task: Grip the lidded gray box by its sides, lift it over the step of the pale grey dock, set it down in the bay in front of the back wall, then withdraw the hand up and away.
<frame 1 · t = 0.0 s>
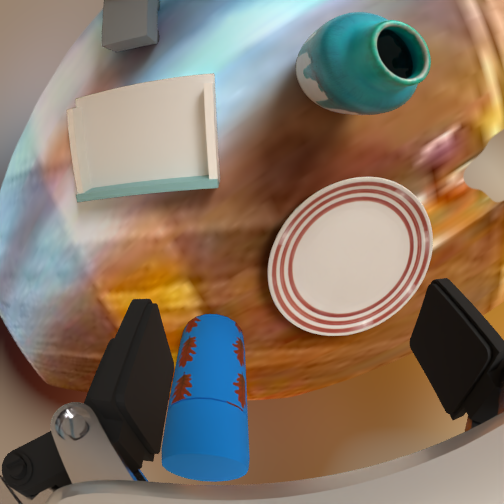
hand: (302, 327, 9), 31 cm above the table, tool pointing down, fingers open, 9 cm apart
vase: (328, 75, 32), on the table
dinner plate: (352, 258, 45), on the table
lidded gray box: (141, 24, 27), on the table
loading dock: (145, 134, 35), on the table
thermos: (213, 336, 50), on the table
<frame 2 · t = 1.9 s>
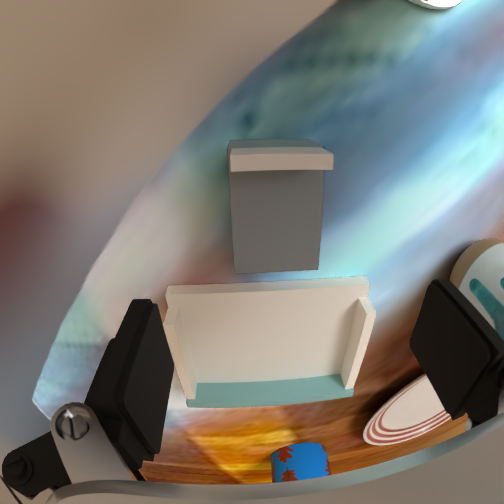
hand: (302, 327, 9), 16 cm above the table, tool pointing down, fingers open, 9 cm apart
vase: (467, 265, 28), on the table
dinner plate: (428, 393, 41), on the table
lidded gray box: (268, 185, 23), on the table
loading dock: (268, 336, 31), on the table
thermos: (298, 452, 47), on the table
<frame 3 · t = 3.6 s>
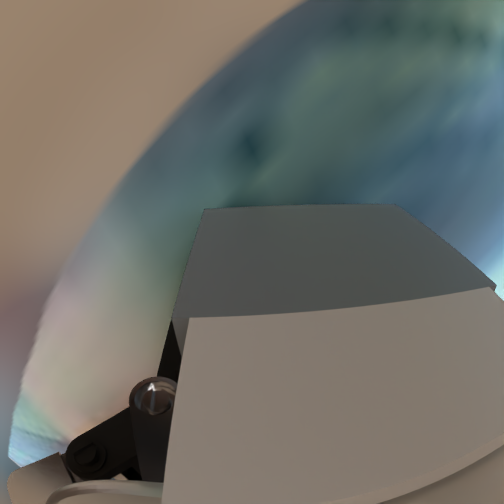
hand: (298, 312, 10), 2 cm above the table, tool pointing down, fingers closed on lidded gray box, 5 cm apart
lidded gray box: (291, 288, 11), on the table, touching gripper
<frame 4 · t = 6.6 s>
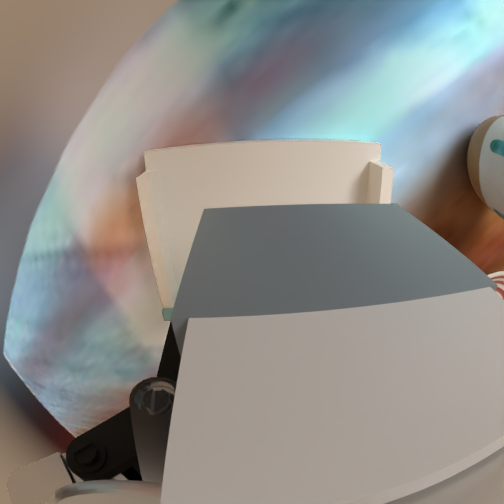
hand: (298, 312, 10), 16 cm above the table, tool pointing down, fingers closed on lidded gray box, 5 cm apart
vase: (482, 155, 23), on the table
lidded gray box: (291, 288, 11), point 15 cm above the table, touching gripper
loading dock: (266, 220, 26), on the table
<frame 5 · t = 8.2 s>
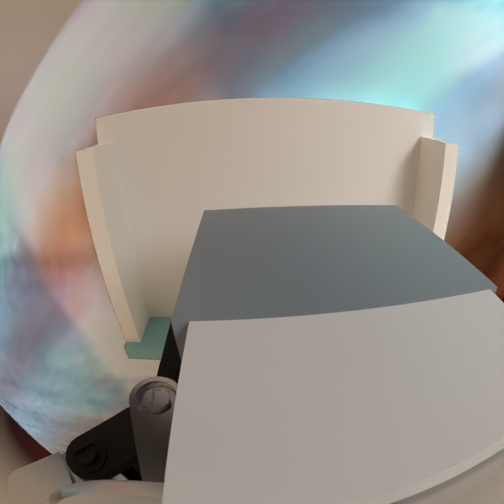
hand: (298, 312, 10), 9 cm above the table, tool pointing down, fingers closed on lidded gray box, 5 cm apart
lidded gray box: (291, 289, 11), point 7 cm above the table, touching gripper
loading dock: (274, 217, 18), on the table
when the fingers open (4 cm above the table, at t = 9.4 s): lidded gray box drops 1 cm, resting on loading dock.
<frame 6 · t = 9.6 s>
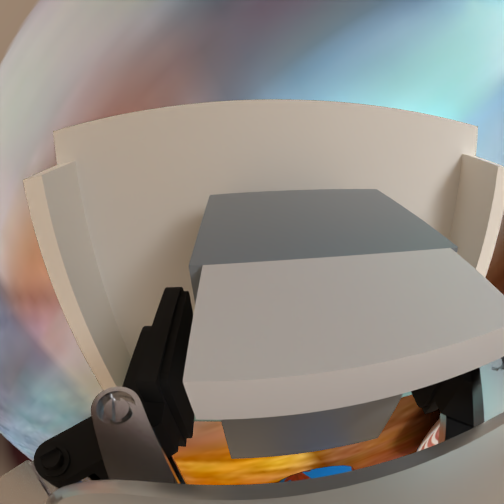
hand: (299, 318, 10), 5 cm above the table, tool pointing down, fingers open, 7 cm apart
dinner plate: (497, 381, 24), on the table
lidded gray box: (287, 269, 13), point 2 cm above the table, touching loading dock
loading dock: (281, 254, 14), on the table
thermos: (316, 478, 30), on the table
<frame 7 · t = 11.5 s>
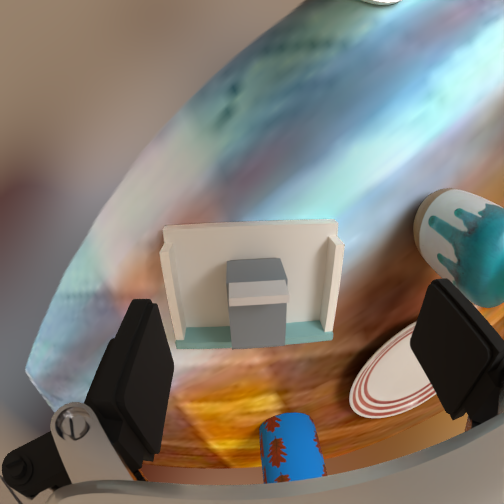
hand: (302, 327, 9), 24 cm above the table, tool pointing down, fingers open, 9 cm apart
vase: (431, 218, 34), on the table
dinner plate: (412, 360, 45), on the table
lidded gray box: (253, 283, 34), point 1 cm above the table, touching loading dock
loading dock: (252, 277, 35), on the table
thermos: (286, 426, 50), on the table
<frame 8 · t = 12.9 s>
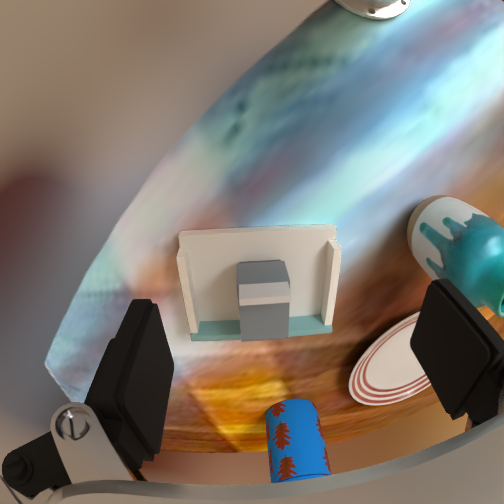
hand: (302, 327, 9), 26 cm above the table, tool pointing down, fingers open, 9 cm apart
vase: (425, 221, 37), on the table
dinner plate: (408, 351, 49), on the table
lidded gray box: (260, 282, 38), point 1 cm above the table, touching loading dock
loading dock: (259, 276, 39), on the table
thermos: (290, 411, 55), on the table
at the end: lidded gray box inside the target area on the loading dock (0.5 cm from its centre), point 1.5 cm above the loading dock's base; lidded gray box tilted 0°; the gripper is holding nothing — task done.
